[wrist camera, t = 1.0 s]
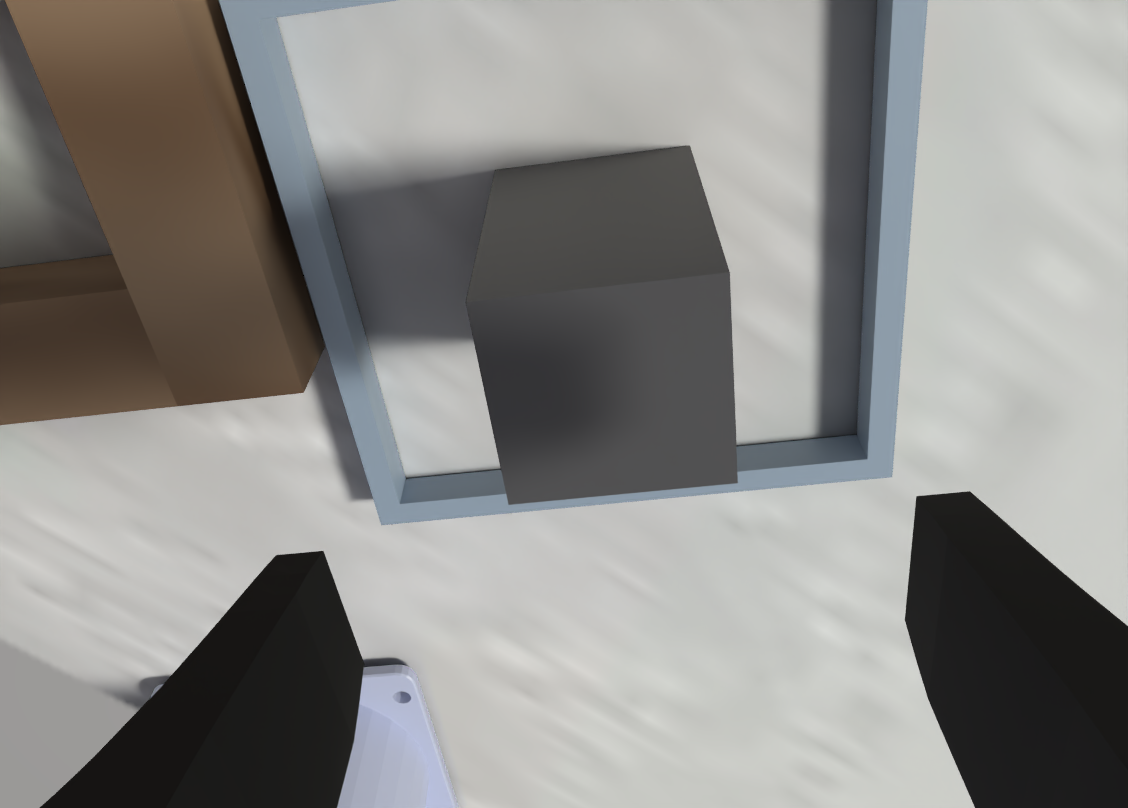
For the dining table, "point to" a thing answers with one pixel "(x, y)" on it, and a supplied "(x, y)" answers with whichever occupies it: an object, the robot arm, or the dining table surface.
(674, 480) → the plug
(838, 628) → the dining table surface
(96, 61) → the socket block
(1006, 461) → the dining table surface
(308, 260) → the frame
